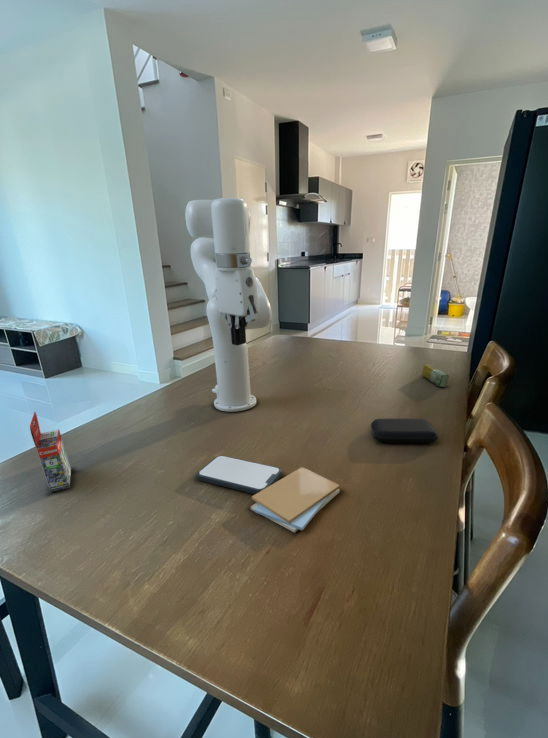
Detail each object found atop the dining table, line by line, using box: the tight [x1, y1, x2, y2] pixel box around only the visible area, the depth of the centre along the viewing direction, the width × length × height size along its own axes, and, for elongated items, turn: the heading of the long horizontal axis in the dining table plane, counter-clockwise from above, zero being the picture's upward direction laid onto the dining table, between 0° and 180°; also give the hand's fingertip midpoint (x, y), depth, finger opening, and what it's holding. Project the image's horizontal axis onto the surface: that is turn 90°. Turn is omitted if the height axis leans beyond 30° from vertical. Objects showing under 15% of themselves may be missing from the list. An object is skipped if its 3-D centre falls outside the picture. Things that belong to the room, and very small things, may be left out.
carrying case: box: [370, 417, 439, 444], centre depth 93 cm, size 11×3×15 cm
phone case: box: [196, 455, 283, 495], centre depth 78 cm, size 9×2×16 cm
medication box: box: [421, 364, 450, 388], centre depth 127 cm, size 12×3×4 cm, turn 10°
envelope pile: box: [250, 466, 341, 534], centre depth 70 cm, size 12×15×2 cm
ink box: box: [29, 411, 72, 493], centre depth 76 cm, size 4×8×15 cm, turn 26°
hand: (239, 343), depth 91 cm, fingers closed
